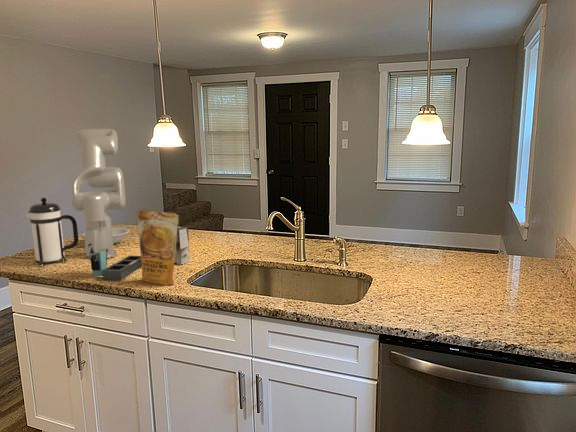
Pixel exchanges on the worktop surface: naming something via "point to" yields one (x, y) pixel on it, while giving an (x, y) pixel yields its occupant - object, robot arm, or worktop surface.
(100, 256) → the peg
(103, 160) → the robot arm
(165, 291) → the worktop surface
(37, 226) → the coffee press
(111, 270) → the rail
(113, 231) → the soup bowl
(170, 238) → the pancake mix bag
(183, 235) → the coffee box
